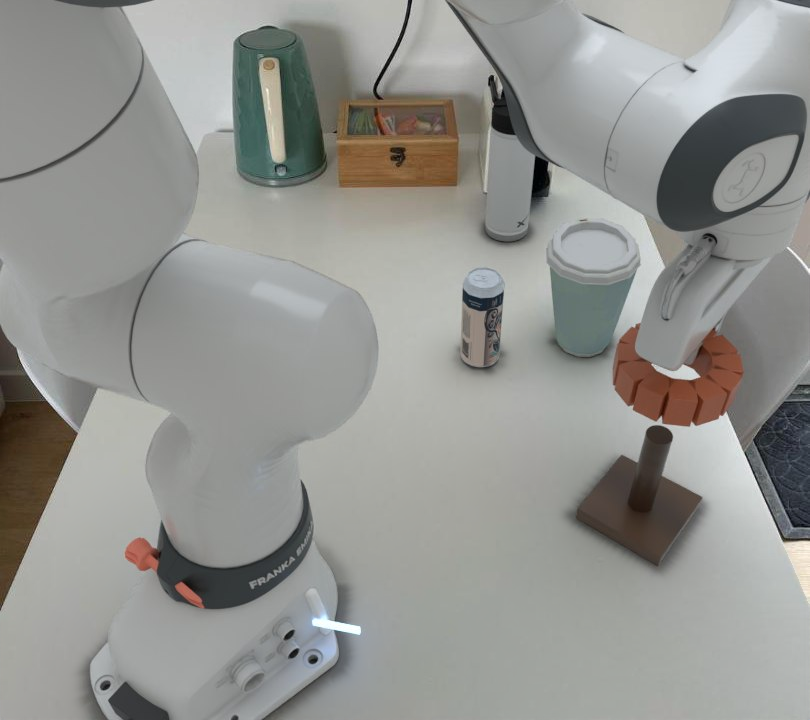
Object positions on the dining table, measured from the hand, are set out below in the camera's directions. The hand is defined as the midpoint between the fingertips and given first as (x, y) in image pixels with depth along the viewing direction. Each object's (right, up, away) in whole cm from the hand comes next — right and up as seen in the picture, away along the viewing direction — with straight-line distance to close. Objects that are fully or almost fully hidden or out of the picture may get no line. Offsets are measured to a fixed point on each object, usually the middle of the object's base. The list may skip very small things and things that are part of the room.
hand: (695, 345), depth 70 cm
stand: (-2, -17, +11) cm, 20 cm away
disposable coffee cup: (-4, +1, +30) cm, 31 cm away
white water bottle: (-10, +18, +49) cm, 53 cm away
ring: (-2, -3, -1) cm, 4 cm away
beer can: (-16, -1, +29) cm, 33 cm away
